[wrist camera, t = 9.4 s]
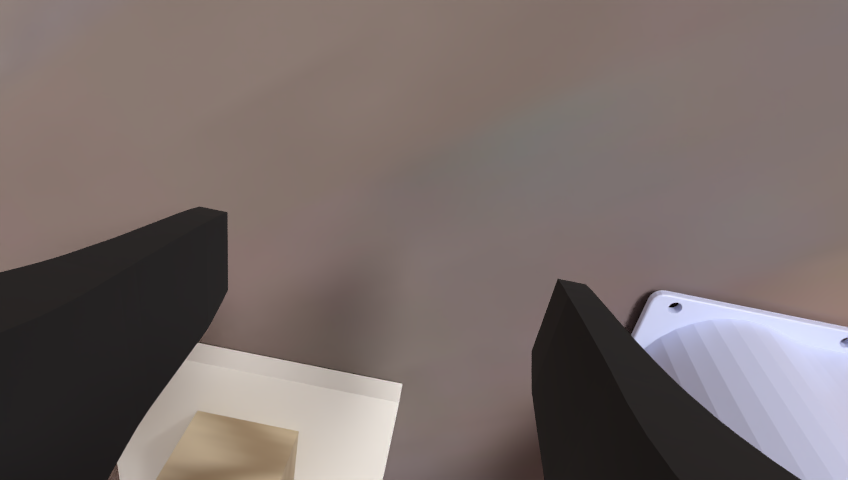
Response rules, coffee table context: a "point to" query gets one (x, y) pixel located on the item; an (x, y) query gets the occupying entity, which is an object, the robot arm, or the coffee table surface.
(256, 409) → the ceramic tile
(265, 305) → the coffee table surface
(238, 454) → the maple cube
